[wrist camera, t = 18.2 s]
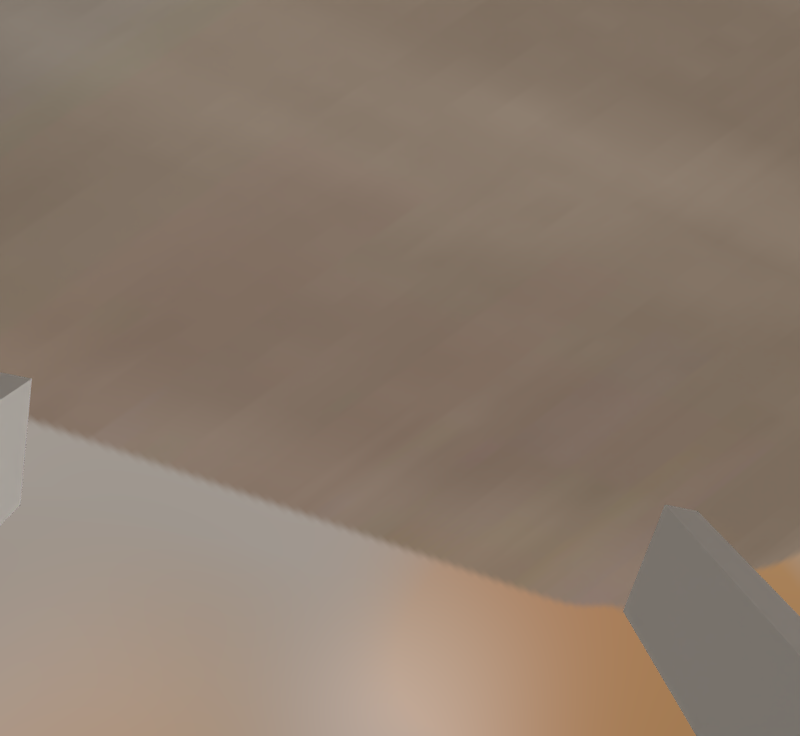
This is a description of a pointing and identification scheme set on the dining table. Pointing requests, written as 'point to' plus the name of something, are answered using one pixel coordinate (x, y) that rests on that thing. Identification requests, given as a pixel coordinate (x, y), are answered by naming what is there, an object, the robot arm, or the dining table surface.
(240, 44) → the dining table surface
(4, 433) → the robot arm
